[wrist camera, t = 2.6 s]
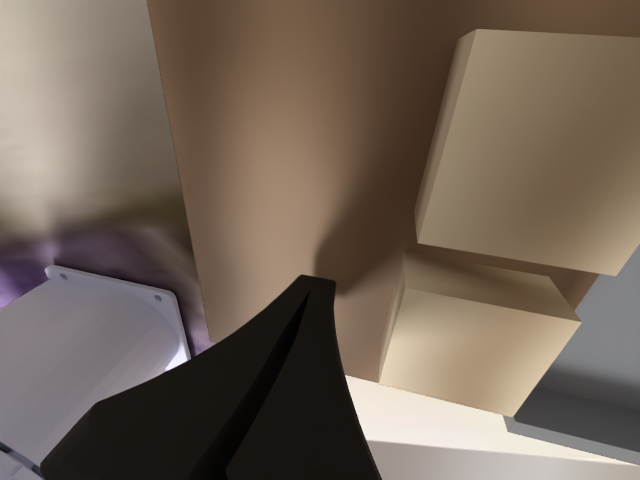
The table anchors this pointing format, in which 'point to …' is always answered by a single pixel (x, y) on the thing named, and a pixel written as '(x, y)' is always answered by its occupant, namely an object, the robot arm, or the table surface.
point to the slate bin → (594, 376)
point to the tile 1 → (472, 332)
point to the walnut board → (326, 143)
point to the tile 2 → (537, 151)
